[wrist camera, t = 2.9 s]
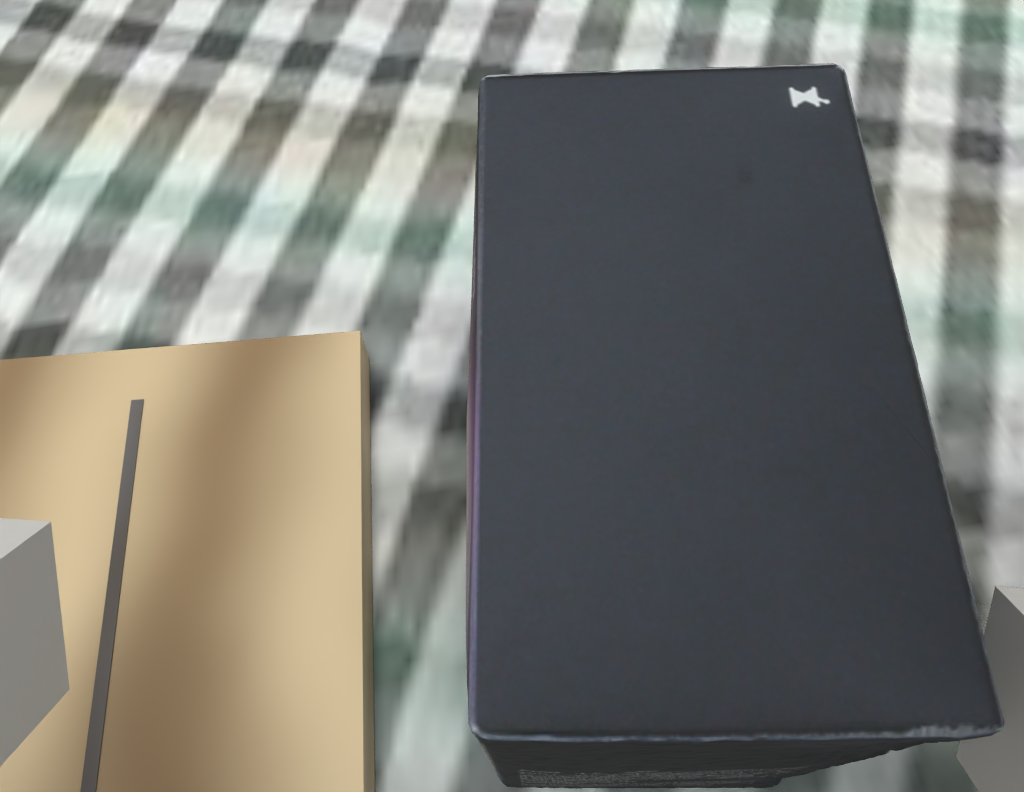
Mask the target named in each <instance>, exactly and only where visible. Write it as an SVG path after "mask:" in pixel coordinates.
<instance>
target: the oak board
mask: <svg viewBox="0 0 1024 792" xmlns="http://www.w3.org/2000/svg"><path fill="white" fill-rule="evenodd" d="M0 518H7V519H22V520H36V521H51V526H52V535H53V544H54V553H55V562H56V571H57V580H58V589H59V598H60V607H61V616H62V625H63V634H64V643H65V652H66V661H67V670H68V679H69V688H70V690H69V691H68V692H67V693H66V694H65V695H64V696H63V698H62V699H61V700H60V701H59V702H58V703H57V704H56V705H55V706H54V708H53V709H52V710H51V711H50V712H49V713H48V714H47V715H46V716H45V718H44V719H43V720H42V721H41V722H40V723H39V724H38V725H37V726H36V728H35V729H34V730H33V731H32V732H31V733H30V734H29V735H28V736H27V738H26V739H25V740H24V741H23V742H22V743H21V744H20V745H19V746H18V748H17V749H16V750H15V751H14V752H13V753H12V754H11V755H10V756H9V758H8V759H7V760H6V761H5V762H4V763H3V764H2V765H1V767H0V792H375V748H374V671H373V594H372V518H371V441H370V364H369V357H368V354H367V351H366V348H365V344H364V341H363V338H362V335H361V332H360V331H351V332H339V333H327V334H314V335H302V336H290V337H278V338H265V339H253V340H241V341H228V342H216V343H204V344H191V345H179V346H167V347H154V348H142V349H130V350H118V351H105V352H93V353H81V354H68V355H56V356H44V357H31V358H19V359H7V360H0Z"/></svg>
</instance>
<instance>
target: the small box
mask: <svg viewBox="0 0 1024 792" xmlns="http://www.w3.org/2000/svg"><path fill="white" fill-rule="evenodd" d="M466 654H467V687H468V714H469V726H470V728H471V731H472V733H473V734H474V735H475V736H476V737H477V738H478V740H479V742H480V744H481V745H482V747H483V748H484V750H485V751H486V753H487V755H488V757H489V759H490V760H491V762H492V764H493V766H494V767H495V769H496V772H497V774H498V776H499V778H500V779H501V781H502V783H503V784H505V785H506V786H507V787H537V788H545V787H548V788H561V787H562V788H679V787H681V788H745V787H754V788H767V787H773V786H774V785H777V784H778V783H779V782H780V781H781V780H783V779H784V778H786V777H791V776H797V775H804V774H808V773H810V772H813V771H816V770H819V769H825V768H829V767H831V766H839V765H843V764H847V763H850V762H856V761H860V760H865V759H868V758H873V757H876V756H878V755H884V754H886V753H888V752H889V751H890V750H894V751H898V750H902V749H905V748H908V747H911V746H915V745H919V744H923V743H937V742H950V741H959V740H968V739H975V738H981V737H987V736H992V735H994V734H996V733H998V732H1000V731H1001V730H1002V729H1003V727H1004V723H1005V722H1004V718H1003V714H1002V710H1001V706H1000V703H999V699H998V695H997V691H996V687H995V683H994V678H993V674H992V670H991V665H990V661H989V657H988V653H987V649H986V645H985V640H984V636H983V632H982V627H981V623H980V619H979V614H978V610H977V606H976V602H975V598H974V594H973V590H972V586H971V582H970V578H969V574H968V570H967V566H966V562H965V558H964V554H963V550H962V546H961V542H960V538H959V533H958V529H957V525H956V521H955V517H954V512H953V509H952V505H951V501H950V497H949V493H948V489H947V484H946V478H945V474H944V471H943V467H942V464H941V460H940V455H939V451H938V447H937V443H936V439H935V435H934V430H933V426H932V422H931V418H930V414H929V410H928V406H927V401H926V397H925V393H924V389H923V385H922V382H921V378H920V374H919V370H918V363H917V360H916V356H915V352H914V349H913V345H912V341H911V337H910V333H909V329H908V325H907V320H906V316H905V312H904V308H903V304H902V300H901V296H900V292H899V288H898V284H897V279H896V276H895V273H894V269H893V265H892V260H891V256H890V252H889V247H888V243H887V239H886V235H885V231H884V227H883V223H882V219H881V215H880V212H879V208H878V204H877V199H876V195H875V190H874V186H873V181H872V177H871V173H870V169H869V166H868V162H867V158H866V154H865V150H864V146H863V142H862V138H861V133H860V129H859V126H858V124H857V118H856V114H855V111H854V106H853V102H852V98H851V94H850V90H849V85H848V81H847V77H846V73H845V71H844V69H842V68H841V67H840V66H838V65H836V64H833V63H827V64H804V65H778V66H756V67H706V68H692V69H651V70H627V71H585V72H557V73H534V74H512V75H488V76H486V77H484V78H482V80H481V82H480V86H479V94H478V132H477V148H476V173H475V208H474V240H473V269H472V298H471V327H470V356H469V380H468V403H467V530H466Z"/></svg>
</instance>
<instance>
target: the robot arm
mask: <svg viewBox="0 0 1024 792" xmlns="http://www.w3.org/2000/svg"><path fill="white" fill-rule="evenodd" d="M984 640H985V645H986V649H987V653H988V657H989V661H990V665H991V670H992V674H993V678H994V683H995V687H996V691H997V695H998V699H999V703H1000V706H1001V710H1002V714H1003V718H1004V722H1005V723H1004V727H1003V729H1002V730H1001V731H1000V732H998V733H996V734H994V735H992V736H987V737H981V738H975V739H968V740H960V743H959V748H958V752H957V756H956V757H957V759H958V760H959V762H960V763H961V765H962V767H963V768H964V770H965V771H966V773H967V774H968V776H969V777H970V779H971V780H972V782H973V784H974V785H975V787H976V788H977V790H978V791H979V792H1024V588H1014V587H999V586H995V591H994V595H993V599H992V604H991V608H990V612H989V617H988V621H987V625H986V630H985V634H984ZM69 690H70V688H69V679H68V670H67V661H66V652H65V643H64V634H63V625H62V616H61V607H60V598H59V589H58V580H57V571H56V562H55V553H54V544H53V535H52V526H51V521H36V520H22V519H7V518H0V767H1V765H2V764H3V763H4V762H5V761H6V760H7V759H8V758H9V756H10V755H11V754H12V753H13V752H14V751H15V750H16V749H17V748H18V746H19V745H20V744H21V743H22V742H23V741H24V740H25V739H26V738H27V736H28V735H29V734H30V733H31V732H32V731H33V730H34V729H35V728H36V726H37V725H38V724H39V723H40V722H41V721H42V720H43V719H44V718H45V716H46V715H47V714H48V713H49V712H50V711H51V710H52V709H53V708H54V706H55V705H56V704H57V703H58V702H59V701H60V700H61V699H62V698H63V696H64V695H65V694H66V693H67V692H68V691H69Z"/></svg>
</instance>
